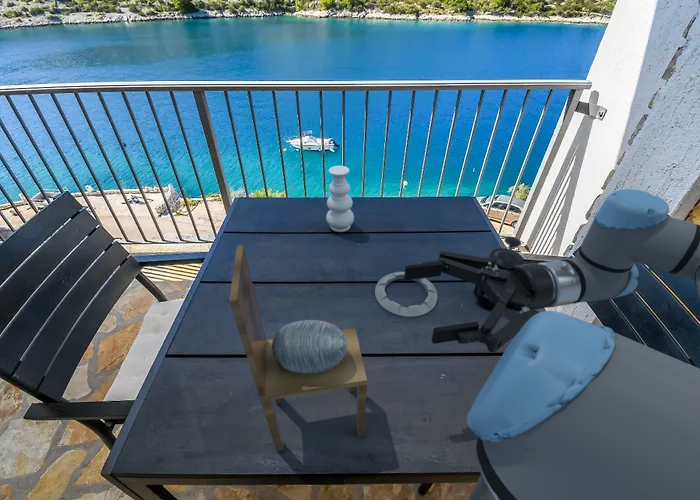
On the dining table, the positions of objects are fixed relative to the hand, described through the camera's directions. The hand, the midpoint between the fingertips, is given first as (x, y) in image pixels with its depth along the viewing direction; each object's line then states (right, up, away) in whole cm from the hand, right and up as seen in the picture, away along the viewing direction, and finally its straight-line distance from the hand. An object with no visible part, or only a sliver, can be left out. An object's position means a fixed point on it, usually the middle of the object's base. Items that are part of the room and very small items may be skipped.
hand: (417, 301), depth 55 cm
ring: (+7, -6, +55) cm, 56 cm away
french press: (+33, -7, +53) cm, 62 cm away
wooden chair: (-18, -30, +25) cm, 43 cm away
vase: (-15, +17, +84) cm, 87 cm away
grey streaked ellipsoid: (-18, -13, +11) cm, 25 cm away
